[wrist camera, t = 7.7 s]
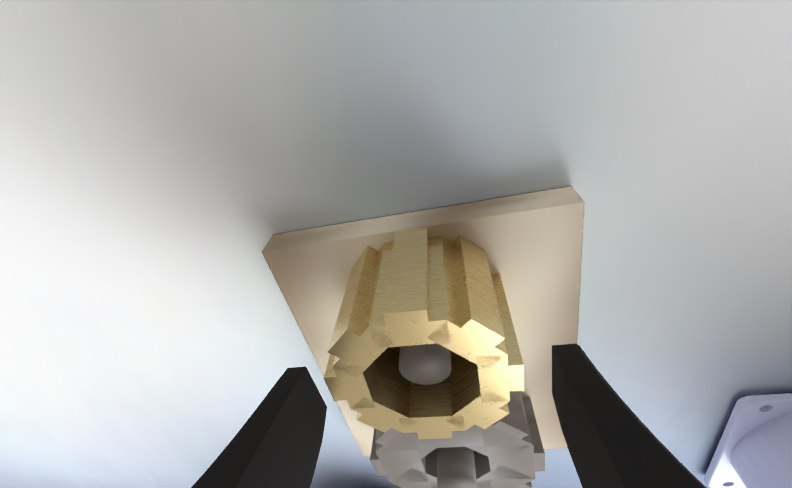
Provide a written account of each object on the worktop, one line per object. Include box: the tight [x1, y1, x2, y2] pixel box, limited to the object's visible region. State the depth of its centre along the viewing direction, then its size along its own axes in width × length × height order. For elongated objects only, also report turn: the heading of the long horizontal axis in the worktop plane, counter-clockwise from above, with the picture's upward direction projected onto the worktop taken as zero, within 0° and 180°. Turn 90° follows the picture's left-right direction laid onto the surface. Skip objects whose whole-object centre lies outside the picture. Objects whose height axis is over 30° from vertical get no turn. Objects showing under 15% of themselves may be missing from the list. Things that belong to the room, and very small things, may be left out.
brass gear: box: [324, 227, 524, 439], centre depth 12 cm, size 6×6×4 cm
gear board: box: [262, 186, 584, 488], centre depth 15 cm, size 11×14×4 cm
